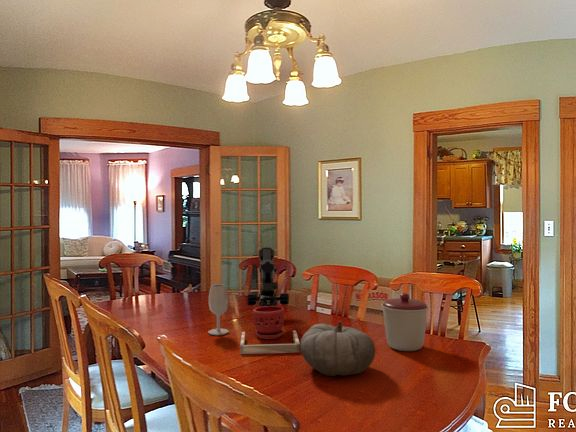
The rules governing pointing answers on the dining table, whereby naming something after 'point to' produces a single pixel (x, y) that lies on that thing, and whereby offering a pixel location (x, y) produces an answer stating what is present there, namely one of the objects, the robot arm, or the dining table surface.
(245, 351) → the frame
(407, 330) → the canister
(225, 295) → the wineglass
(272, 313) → the plant pot
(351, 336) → the gourd
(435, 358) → the dining table surface
